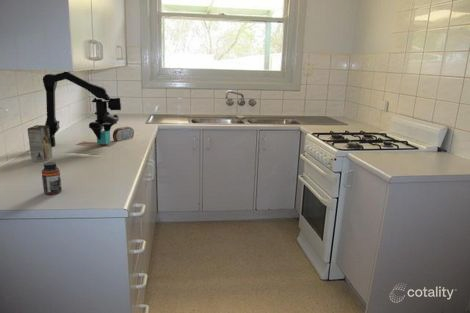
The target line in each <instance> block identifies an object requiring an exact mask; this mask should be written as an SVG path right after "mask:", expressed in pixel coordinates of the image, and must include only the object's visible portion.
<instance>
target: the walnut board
mask: <svg viewBox="0 0 470 313" xmlns="http://www.w3.org/2000/svg"><path fill="white" fill-rule="evenodd" d="M114 145H116V143H113V142H110V143H108V144H107V145H101V144H97V141H95V142H94V141H82V142H79V143H76V144H75V146H85V147H86V146H88V147H101V148H102V147H103V148H109V147H112V146H114Z"/></svg>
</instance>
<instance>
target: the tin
mask: <svg viewBox="0 0 470 313" xmlns="http://www.w3.org/2000/svg"><path fill="white" fill-rule="evenodd" d="M134 133H135V131H134V129H133V127H130V126H124V127H123V126H122V127H117V128H115V129H114V131H113V133H112V139H113V141H115V142H119V141H124V140H127V139H133V138H134V136H135V134H134Z"/></svg>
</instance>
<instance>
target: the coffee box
mask: <svg viewBox="0 0 470 313" xmlns="http://www.w3.org/2000/svg"><path fill="white" fill-rule="evenodd" d="M27 137H28V144H29V145H28V146H29V150H30V151H29V152H30V158H31V159H30V160H31V162H46V161H48V160H49V159H51V158H53V149H52V148H53V147H51V139H50V130H49V125H45V124H44V125H42V124H41V125H39V124H37V125H34V126H33V125H32V126H31V127H28V128H27Z"/></svg>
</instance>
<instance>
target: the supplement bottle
mask: <svg viewBox="0 0 470 313" xmlns="http://www.w3.org/2000/svg"><path fill="white" fill-rule="evenodd" d="M41 180H42V187H43V194H45V195H50V196H51V195H52V196H53V195H57V194H60V193H61V192H62V190H63V189H62V179H61V170H60V168H59V167H57V163H56V162H55V161H48V162H46V161H45V162H44V163H43V169H42V170H41Z"/></svg>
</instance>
